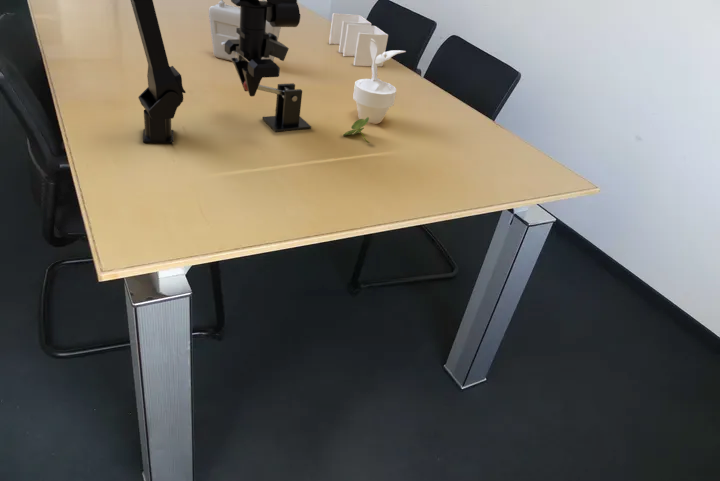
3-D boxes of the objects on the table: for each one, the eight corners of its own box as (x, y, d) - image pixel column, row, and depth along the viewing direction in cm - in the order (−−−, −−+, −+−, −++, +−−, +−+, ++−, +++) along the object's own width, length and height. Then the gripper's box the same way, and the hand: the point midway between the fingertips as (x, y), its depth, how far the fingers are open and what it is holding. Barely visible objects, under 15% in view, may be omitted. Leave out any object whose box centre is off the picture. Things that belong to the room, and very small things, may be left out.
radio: (205, 57, 179) (205, -28, 165) (216, 50, 186) (217, -32, 172) (269, 72, 176) (275, -13, 163) (279, 65, 183) (285, -17, 169)
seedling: (357, 158, 147) (344, 138, 148) (383, 141, 147) (369, 121, 148) (355, 151, 140) (340, 130, 141) (381, 134, 140) (367, 112, 141)
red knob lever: (244, 92, 132) (248, 80, 131) (239, 87, 134) (243, 75, 133) (294, 103, 141) (298, 91, 140) (289, 98, 143) (293, 87, 142)
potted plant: (355, 128, 151) (371, 32, 137) (344, 110, 160) (358, 19, 146) (399, 129, 155) (418, 37, 141) (386, 112, 164) (403, 24, 150)
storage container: (382, 66, 201) (388, 35, 195) (354, 65, 196) (359, 33, 190) (355, 44, 219) (359, 15, 213) (328, 43, 214) (332, 13, 208)
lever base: (275, 134, 140) (278, 94, 134) (262, 121, 145) (264, 82, 139) (310, 130, 145) (315, 92, 139) (297, 118, 150) (300, 80, 145)
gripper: (303, 39, 124) (297, 106, 132) (268, 15, 136) (264, 78, 145) (256, 39, 118) (252, 109, 127) (224, 14, 130) (223, 80, 139)
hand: (249, 93), depth 135 cm, fingers closed on red knob lever, 3 cm apart
